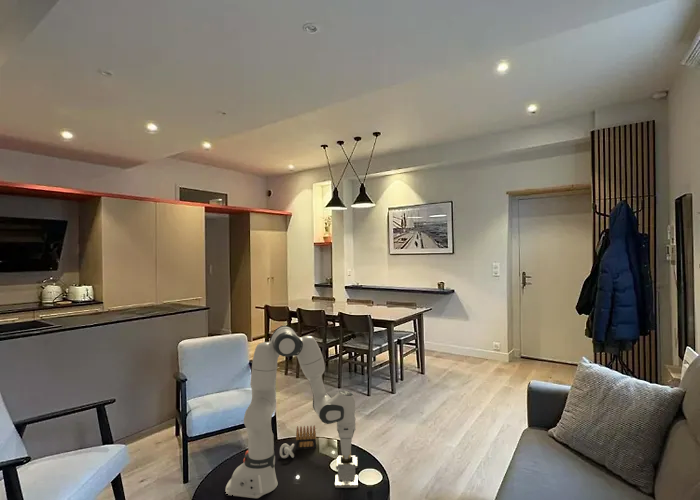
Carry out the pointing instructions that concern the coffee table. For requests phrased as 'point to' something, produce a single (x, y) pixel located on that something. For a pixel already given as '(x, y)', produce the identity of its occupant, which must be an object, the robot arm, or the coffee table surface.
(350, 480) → the hinge
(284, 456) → the knot
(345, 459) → the hinge pin
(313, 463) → the coffee table surface
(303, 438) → the ammunition clip
